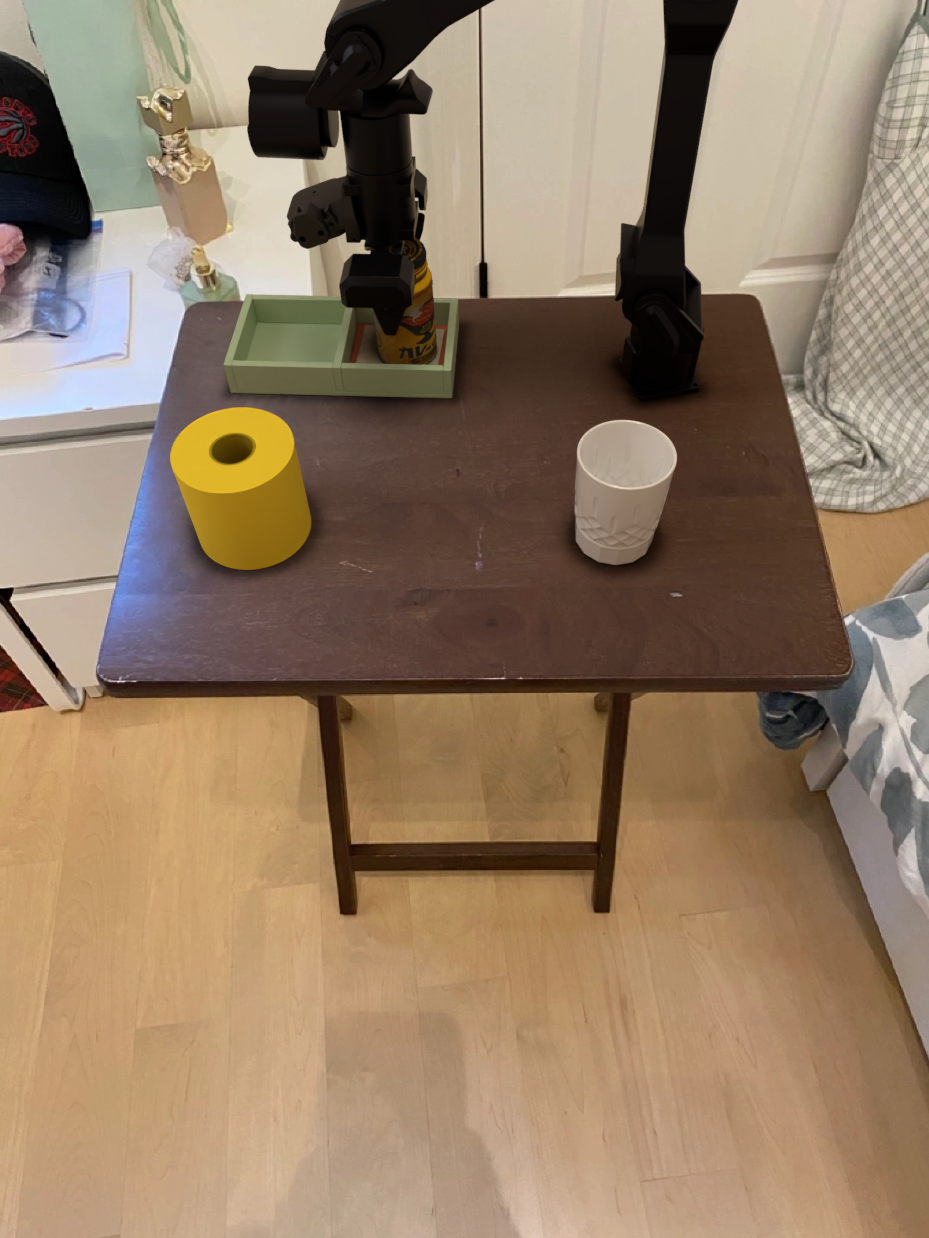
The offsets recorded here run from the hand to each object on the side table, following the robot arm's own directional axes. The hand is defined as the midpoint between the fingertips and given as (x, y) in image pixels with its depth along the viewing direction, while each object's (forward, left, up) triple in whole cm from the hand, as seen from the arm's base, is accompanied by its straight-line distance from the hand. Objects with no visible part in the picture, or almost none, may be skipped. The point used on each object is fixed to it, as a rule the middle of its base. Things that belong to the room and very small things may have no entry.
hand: (393, 314), depth 93 cm
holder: (+5, -2, -6) cm, 8 cm away
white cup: (-13, +29, -6) cm, 32 cm away
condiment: (0, 0, -5) cm, 5 cm away
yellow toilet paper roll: (+17, +19, -6) cm, 26 cm away
